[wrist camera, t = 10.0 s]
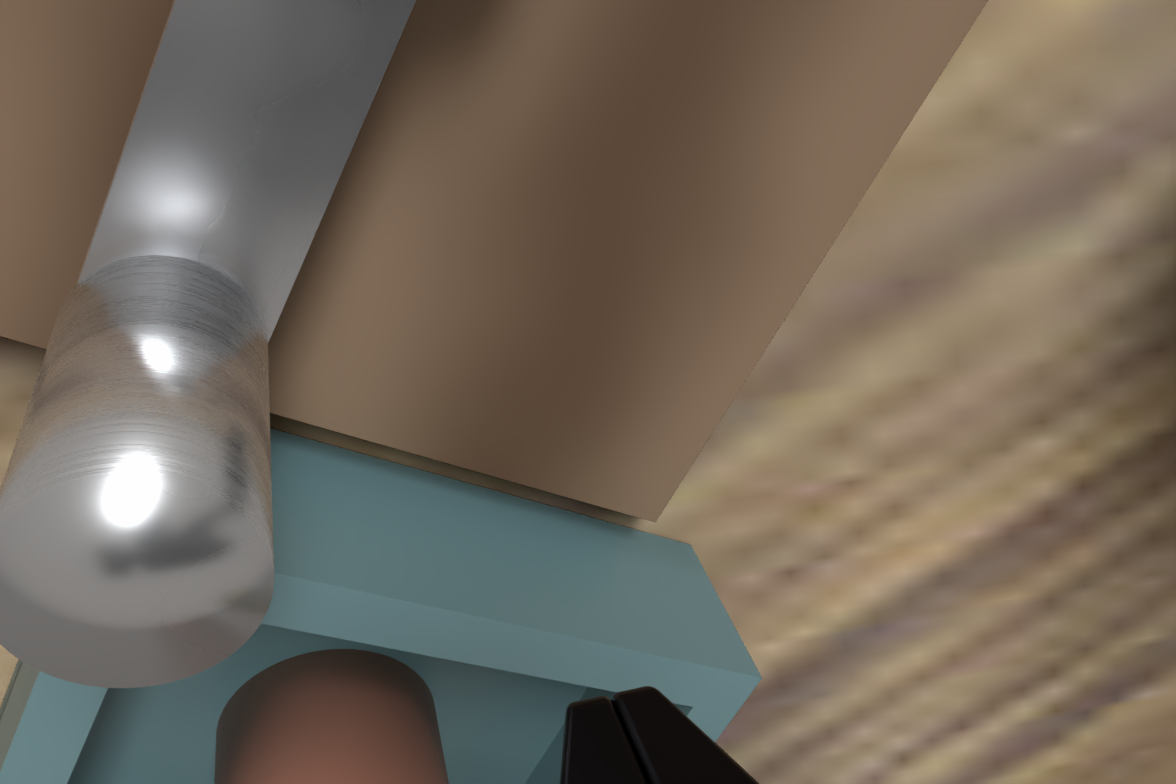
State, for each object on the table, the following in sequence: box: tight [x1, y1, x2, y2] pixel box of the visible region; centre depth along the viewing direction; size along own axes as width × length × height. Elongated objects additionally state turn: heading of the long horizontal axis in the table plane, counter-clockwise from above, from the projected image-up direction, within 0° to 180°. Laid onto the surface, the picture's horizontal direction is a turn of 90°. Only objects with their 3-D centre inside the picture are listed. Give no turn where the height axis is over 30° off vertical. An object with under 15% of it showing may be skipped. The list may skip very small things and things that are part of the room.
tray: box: [0, 428, 762, 784], centre depth 21 cm, size 12×12×4 cm
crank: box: [0, 0, 416, 688], centre depth 11 cm, size 11×4×7 cm, turn 151°
